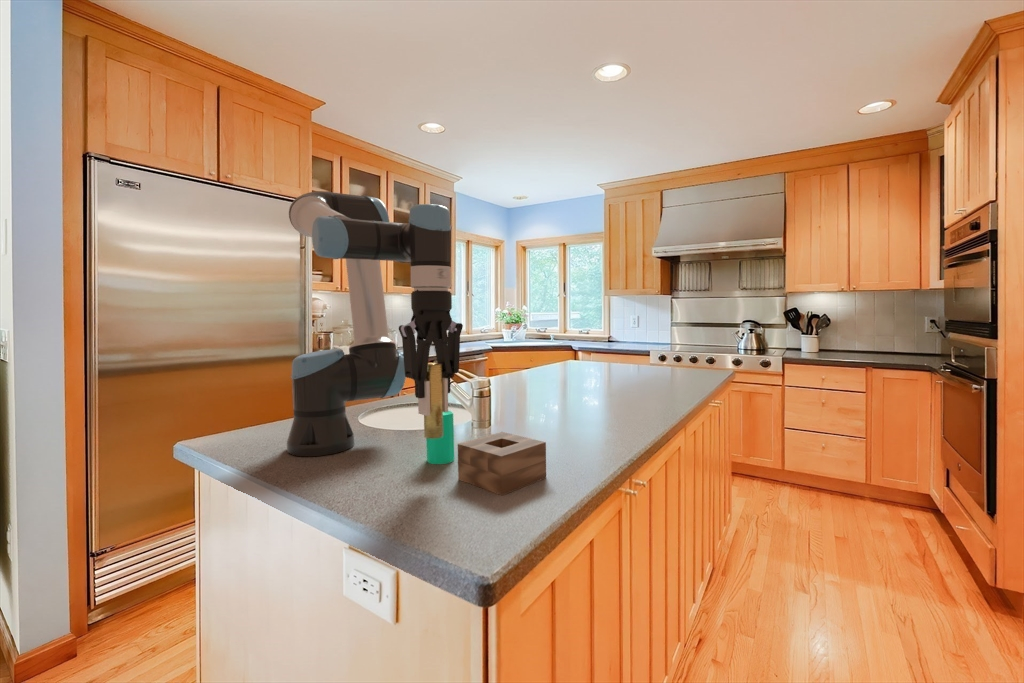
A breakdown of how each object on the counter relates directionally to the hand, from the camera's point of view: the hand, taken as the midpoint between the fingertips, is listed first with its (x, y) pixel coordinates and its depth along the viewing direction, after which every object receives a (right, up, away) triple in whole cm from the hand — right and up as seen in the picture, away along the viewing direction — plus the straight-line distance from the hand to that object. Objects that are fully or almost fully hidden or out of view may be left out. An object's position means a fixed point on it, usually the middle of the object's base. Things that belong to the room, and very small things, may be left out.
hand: (433, 412), depth 93 cm
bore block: (+13, -13, +1) cm, 18 cm away
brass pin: (0, -5, 0) cm, 5 cm away
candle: (-1, -13, +13) cm, 18 cm away
